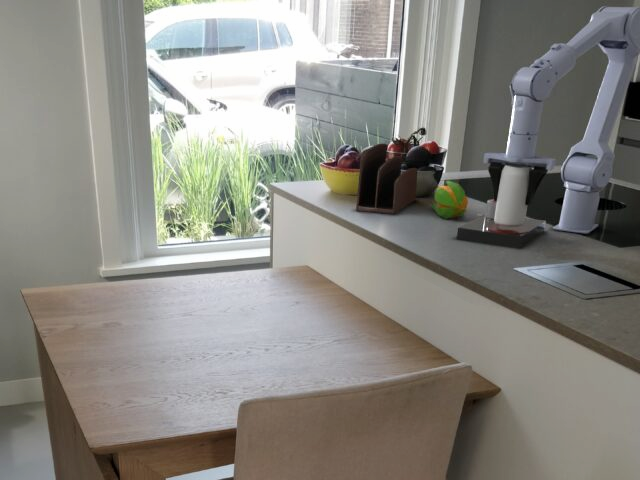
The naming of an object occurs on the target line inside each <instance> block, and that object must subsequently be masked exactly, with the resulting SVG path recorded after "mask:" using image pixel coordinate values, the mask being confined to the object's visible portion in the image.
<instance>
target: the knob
mask: <svg viewBox="0 0 640 480" xmlns="http://www.w3.org/2000/svg"><path fill="white" fill-rule="evenodd" d="M496 204H497V201H494V198H493V199H488V200H487V201H486V206H485V213H484V214H485V217H486V218H490V219H494V217H495V211H496Z"/></svg>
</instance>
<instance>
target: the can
mask: <svg viewBox="0 0 640 480" xmlns="http://www.w3.org/2000/svg"><path fill="white" fill-rule="evenodd" d="M512 163H517V162H512ZM522 164H527V163H522ZM532 169H533V168H531V166H527V167H522V166H512V165H506V163H505V167H504V168H503V170H502V172H501V178H500V184H499V191H498V197H497V204H496V211H495V217H494V221H495V223H496V224H498V225H501V226H509V227H516V226H522V225H523V224H524V223H525V218H526V217H527V211H528V207H529V205H525V202H526V197H527V192H528V186H529V172H530V170H532Z"/></svg>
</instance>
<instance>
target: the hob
mask: <svg viewBox="0 0 640 480" xmlns="http://www.w3.org/2000/svg"><path fill="white" fill-rule="evenodd" d="M476 216H478V217H476V218H474V219H472V220H470V221H467V222H466V223H464V224H462V225H460V226H458V227H457V232H456V240H460V241H467V242H474V243H480V244H487V245H493V246H499V247H506V248H514V249H520V248H522V247H523V246H525V245H526V244H528V243H530V242H531V241H532V240H534V239H535V238H537V237H539V236H540V235H542V234H543V233H545V228H546V225H547V224H546V223H547V221H546V220H542V219H535V218H528V217H527V218H526V217H525V223H524V224H523V225H522V226H525V227H527V228H529V232H527V233H522V234H504V233H497V232H493V231H490V230H488V229H487V226H488V225H491V224H496V223H495V221H494V219H490V218H486V217H485V213H484V214H479V213H477V214H476Z"/></svg>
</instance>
